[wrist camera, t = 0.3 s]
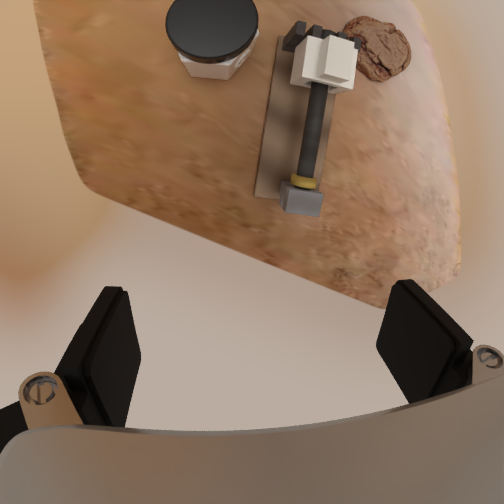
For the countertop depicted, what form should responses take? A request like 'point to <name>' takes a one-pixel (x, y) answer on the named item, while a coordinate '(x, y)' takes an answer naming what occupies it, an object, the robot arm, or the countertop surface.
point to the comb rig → (295, 130)
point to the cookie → (379, 48)
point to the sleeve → (325, 63)
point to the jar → (213, 35)
